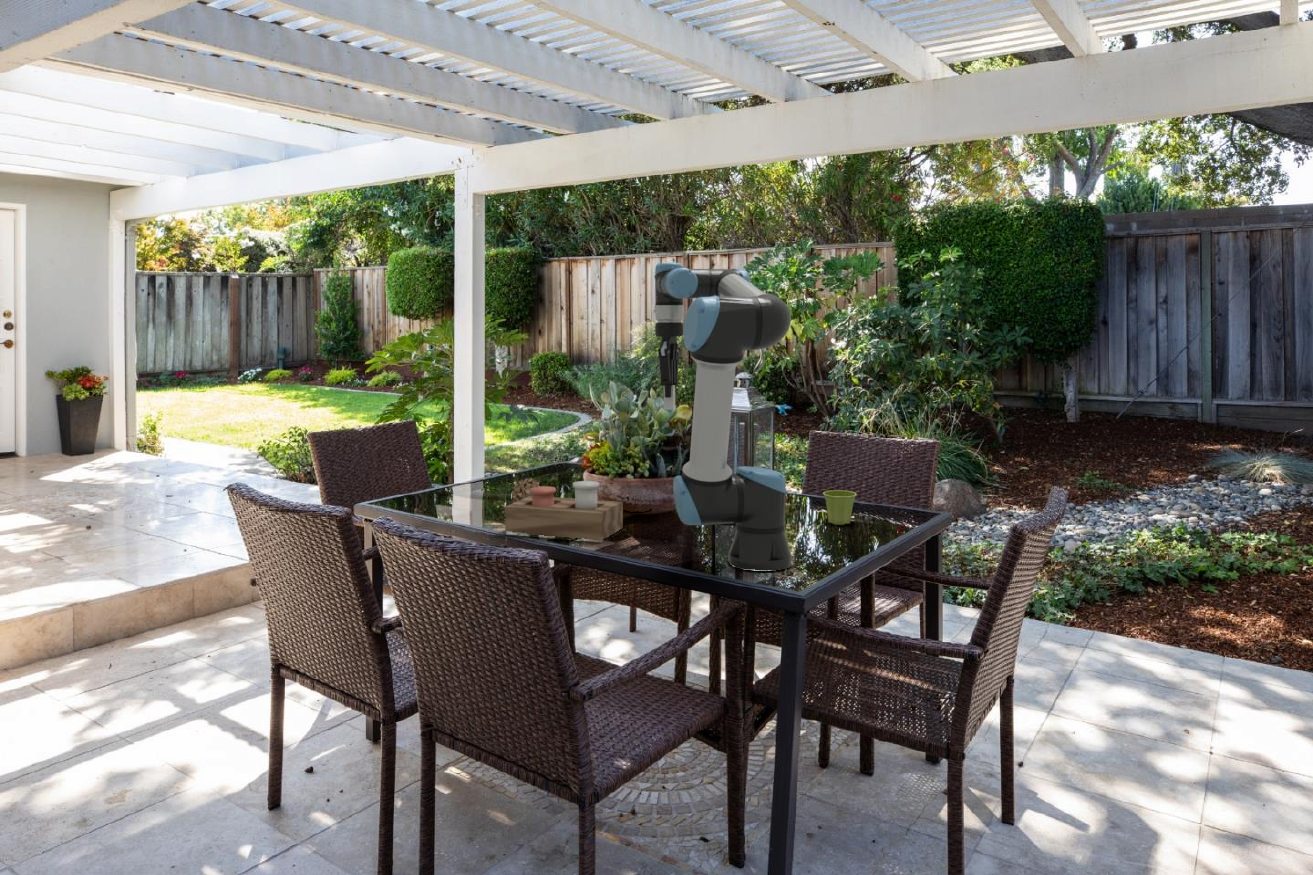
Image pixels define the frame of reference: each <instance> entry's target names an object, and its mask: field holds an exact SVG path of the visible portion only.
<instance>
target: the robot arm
mask: <svg viewBox="0 0 1313 875" xmlns="http://www.w3.org/2000/svg"><path fill="white" fill-rule="evenodd" d="M750 277H751V276H750V275H749V273H748V271H747V270H745V269H737V268H731V269H730V268H727V269H726V268H723V269H722V268H717V269H716V268H714V269H713V268H711V269H710V268H687V267H684V266H683V264H682V263H679V262H662V263H661V262H660V263H657V264H656V265H655V269H654V277H653V278H654V292H655V293H654V294H655V296H654V297H655V298H654V300H655V301H654V302H655V304H654V305H655V309H653V313H654V314H655V315H654V316H655V321H657V322H656V323H655V326H654V327H655V329H654V331H655V332H654V333H655V336H656V337H661V343H660V347H659V348H658V349H657V352H658V357H659V370H660V386H663V410H664V411H665V410H668V411H670V410H671V411H675V410H676V386H678V385H679V382H678V376H679V364H680V362H679V360H680V359H679V358H680V353H681V348H680V346H679V343H678V339H677V337H678V338H679V337H683V344H684V347H685V349H686V350H688V351H690V358H691V359H692V360H693V361H694V362H695V363H696V371H695V372H696V374H695V385H694V386H695V387H694V397H693V399H694V400H693V411H692V412H693V414H692V426H691V436H690V437H691V439H690V453H689V461H687V462H686V463H685V464H684V465H683V466H682V471H681V472H682V473H681V475H680V474H679V475H676V476H675V477H674V478H673V482H672V483H673V484H672V488H673V490H672V491H673V497H674V498H673V499H674V505H675V509H676V512H677V514H678V517H679V519H680V521H681V522H682V524H684V525H687V526H700V527H701V526H704V525H705V526H706V525H723V524H724V525H725V524H735V534H734V538H733V540H732V543H731V546H730V548H729V552H728V555H727V556H728V558H727V559H728V560H727V562H728V561H729V562H730V563H731V564H732V565H734V566H736V567H740V568H743V569H755V570H779V569H785V570H787V568H788V569H790V568H791V567H792V564H793V562H792V561H793V557H792V553H791V549H790V545H789V543H788V539H787V537H786V528H785V527H786V498H787V497H786V496H787V495H786V494H787V490H786V477H785V475H783V473H781V472H779V471H776V470H774V469H769V468H763V467H757V466H748V465H747V466H746V465H743V466H737V468H736V470H735V473H733V469H732V468H731V467H730V466H729V464H727V461H728V452H729V441H730V430H731V429H730V428H731V421H732V420H731V418H732V407H733V396H734V387H735V378H736V377H735V375H736V367H738V366H739V365H740V364H741V363H742V362H743V360H744V354H745V351H754V350H756V351H758V350H759V351H760V350H764V349H768V348H771V347H774V346H775V345H776V344H778V343H779V342H781V341H782V340H783V338H784V337H785V336H786V335H787V333H788V331H789V329H790V327H791V322H792V314H791V311H790V309H789V306H788V305H787V303H786V302H785V301H783V299H782V298H780V297H779V296H777V295H775V294H772V293H765V292H764V291H762V290H761V289H759V288H758V287H756V286H755V285H753V284H752V283H751V278H750ZM684 299H694V300H693V301H692V302H691V303H690V305H689V306H688V309H687V311H686V314H685V318H684ZM684 319H685V320H684ZM683 320H684V324H683V322H682V321H683ZM790 566H791V567H790Z"/></svg>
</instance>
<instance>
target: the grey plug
mask: <svg viewBox="0 0 1313 875" xmlns="http://www.w3.org/2000/svg"><path fill="white" fill-rule="evenodd" d="M598 488H600V482H599V481H594V480H579V481H574V482H572V489H574V499H575V508H580V509H596V508H597V500H598Z"/></svg>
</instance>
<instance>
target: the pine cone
mask: <svg viewBox="0 0 1313 875" xmlns="http://www.w3.org/2000/svg"><path fill="white" fill-rule="evenodd" d="M518 482H519V483H515V484H514V486H513V491H511V497H512V498H513V499H512V500H511V502H512V503H515V502H517V501H520V500H522V499H525V498H527V497H530V496H532V494H531V493H530V488H533V487H540V486H541V485H540V481H538V482H537V481H536V480H535V479H532V478H531V477H530V478H525V479H524V480H523V479H520V480H519V481H518Z"/></svg>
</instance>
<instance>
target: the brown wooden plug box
mask: <svg viewBox="0 0 1313 875" xmlns="http://www.w3.org/2000/svg"><path fill="white" fill-rule="evenodd" d="M623 512H624V511H623V502H619V500H616V501H615V500H602V499H601V500H600V499H597V508H596V509H580V508H575V498H572V497H559V496H558V497H557V496H556V497H555V496H554V505H552V506H537V505H532V496H530V497H527V498H525V499H522V500H520V501H517V502H512V503H510V504H508V505H506V506H504V515H505V516H504V518H505V519H504V522H505V525H504V526H505V532H506V531H512V532H521V533H527V534H534V535H544V536H557V537H569V538H584V539H593V540H603V539H604V538H607V537H609V536H610V535H612V534H614V533H616V532H617V531H619V530H620V529H622V528H623V525H624V524H623V522H624V521H623V520H624V518H623V514H624V513H623ZM623 529H624V528H623Z"/></svg>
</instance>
